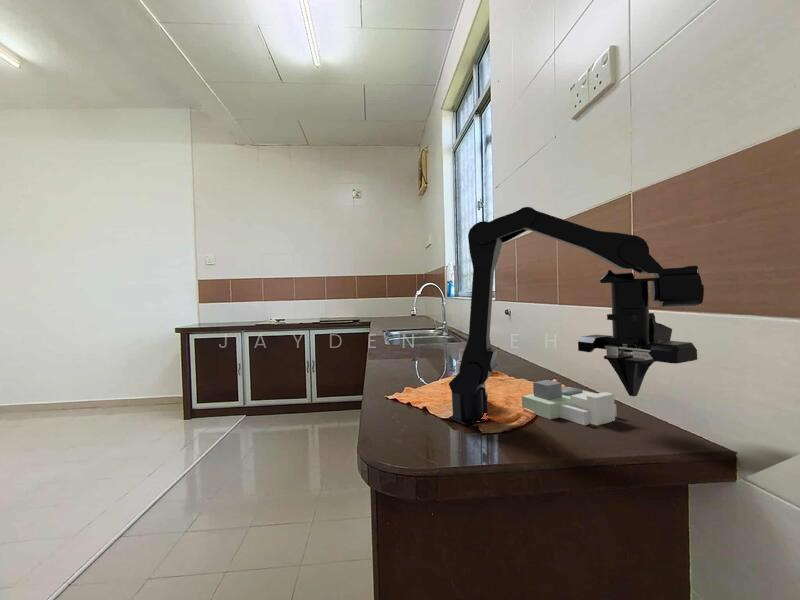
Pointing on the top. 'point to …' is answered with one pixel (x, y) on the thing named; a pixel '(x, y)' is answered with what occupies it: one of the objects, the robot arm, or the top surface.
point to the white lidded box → (596, 406)
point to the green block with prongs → (555, 402)
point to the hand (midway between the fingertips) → (633, 395)
